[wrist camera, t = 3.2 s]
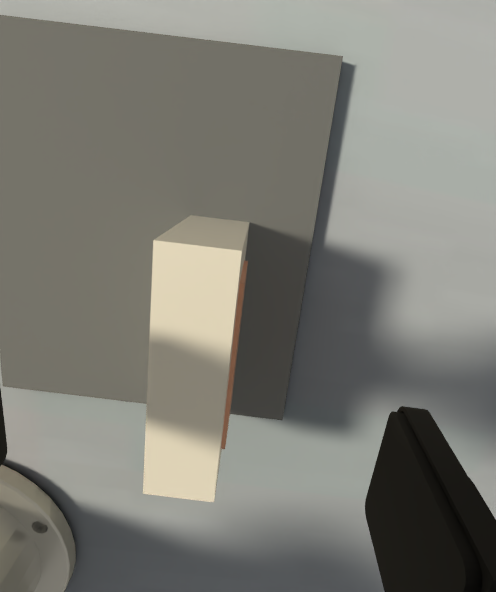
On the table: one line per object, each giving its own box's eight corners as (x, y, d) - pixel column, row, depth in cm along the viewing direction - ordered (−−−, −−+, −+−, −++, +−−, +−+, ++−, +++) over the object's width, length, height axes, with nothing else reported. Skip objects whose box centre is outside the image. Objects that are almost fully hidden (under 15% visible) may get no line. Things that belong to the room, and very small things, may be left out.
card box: (231, 405, 20) (218, 502, 14) (178, 398, 20) (142, 493, 14) (252, 222, 17) (247, 251, 11) (190, 215, 17) (153, 240, 11)
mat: (281, 413, 20) (282, 420, 20) (10, 380, 20) (2, 386, 20) (339, 60, 15) (343, 56, 15) (-20, 17, 15) (-31, 11, 15)
